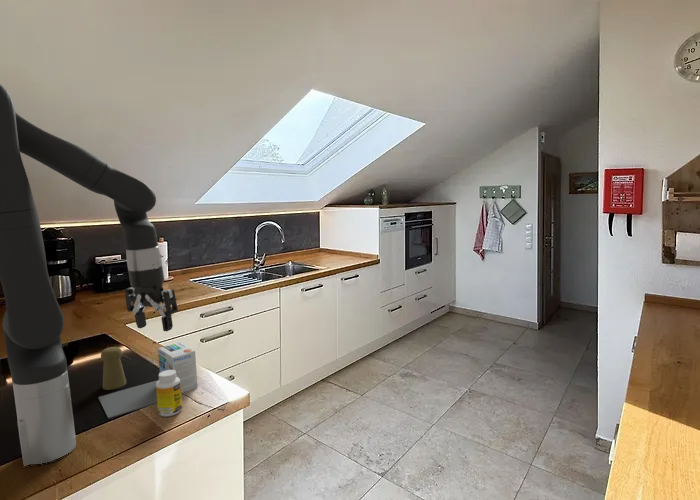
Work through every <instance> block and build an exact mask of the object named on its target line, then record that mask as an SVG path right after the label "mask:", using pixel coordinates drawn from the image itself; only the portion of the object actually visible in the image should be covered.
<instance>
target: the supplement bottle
mask: <svg viewBox="0 0 700 500" xmlns="http://www.w3.org/2000/svg"><path fill="white" fill-rule="evenodd" d="M176 376H177V375H176V371H175V370H166V371H163V372H161V373H160V372H159V373H158V380H156V381H157V383H156V393H157V412H158V414H159V416H161V417H165V418H166V417H172V416H174V415H177V414H179V413H180V412H181V411H182V410H183V409H182V408H183V402H182V393H181V386H180V379H179V378H178V377H176Z"/></svg>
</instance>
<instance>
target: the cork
mask: <svg viewBox="0 0 700 500" xmlns="http://www.w3.org/2000/svg"><path fill="white" fill-rule="evenodd" d="M122 352H123V351H122V349H121V348H120V346H119V347H118V346H110V347H107V348H104V349H103V350H102V351H101V352H100V358H101V360H102V361H103V370H102V373H103V374H102V390H106V391H111V390H112V391H113V390H117V389H120V388H122V387H124V386H125V385H126V384H127V379H126V376H125V371H124V368H123V363H122V360H121V358H122V354H123V353H122Z"/></svg>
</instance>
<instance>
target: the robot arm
mask: <svg viewBox="0 0 700 500" xmlns="http://www.w3.org/2000/svg"><path fill="white" fill-rule="evenodd" d="M21 154H24V155H26V156H28V157H30V158H31V159H33V160H35V161H36V162H39V163H41V164H43V165H44V166H46V167H48V168H49V169H51V170H53V171H54V172H57V173H58V174H60V175H62V176H64V177H65V178H67V179H68V180H71V181H73V182H74V183H76V184H78V185H80V186H81V187H83V188H85V189H87V190H88V191H90V192H93V193H94V194H98V195H101V196H102V195H103V196H105V197H107V198H109V199H111V200H113V204H114V209H115V212H116V216H117V218H118V221H119V224H120V226H121V228H122V231H123V238H124V245H125V252H126V257H125V258H126V264H127V272H128V276H129V283H130V286H131V287H128V288H125V289H124V296H125V304H126V305H125V306H126V311H127V312H132V314H133V315H134V320H135V324H136V326H137V329H143V328H146V326H147V320H146V319H147V318H146V313H145V309H146V307H149V308H153V309H154V311H158V313H159V314H160V316H161V325H162V330H163V332H168V331H171V330H172V329H173V326H174V324H173V319H172V316H173V315H174V314H175V313H178V310H179V309H178V303H177V298H176V294H175V290H174V289H173V288H170V289H164V287H163V284H164V282H165V275H164V274H165V273H164V267H163V261H162V255H161V251H160V249H159V242H158V235H157V229H156V227H155V225H154V224H153V223H151V221H150V220H149V217H148V215H147V212H150V211H152V210H153V209H154V207H155V206H156V203H157V197H156V193H155V192H154V190H153V189H152V187H150V185H148V184H147V183H145V182H144V181H142V180H140V179H137V178H136V177H134V176H132V175H129V173H125V172H123V171H120V170H118V169H117V168H114V167H113V166H111V165H110V164H108V163H107V162H105V161H104V160H102V159H101V158H99V157H98V156H96V155H94V154H93V153H91V152H90V151H88V150H86V149H84V148H82V147H80V146H78V145H77V144H74V143H72V142H69V141H67V140H65V139H64V138H63V139H62V138H61V137H59V136H56V135H54V134H52V133H49V132H48V131H45V130H44V129H42V128H40V127H38V126H36V125H34V124H33V123H31V122H29V121H28V120H27V119H25V118H24V117H22V116H21V115H20V114H18V113H17V112H16V109H15V104H14V101H13V99H12V96H11V94H10V93H9V92H8V90H7V89H6V88H5V87H4V86H3V85H1V84H0V283H1V286H2V290H3V294H4V295H3V296H4V301H5V307H6V309H5V312H4V314H3V317H2V330H3V337H4V344H5V351H6V355H7V357H6V358H7V363H8V368H9V370H10V375H11V376H10V377H11V381H12V388H13V396H14V402H15V403H14V404H15V411H16V417H17V428H18V436H19V444H20V449H21V450H20V451H21V455H22V464H23V465H24V466H25V465H28V464H41V465H43V464H42V463H46V464H48V463H47V462H50V463H52V462H54V461H53V460H55V459H58V458H60V457H62V456H64V455H66V454H67V455H69V454H70V453H71V452H73V450H75V448H76V446H77V441H76V440H77V439H76V431H75V421H74V414H73V405H72V398H71V388H70V381H69V373H68V372H69V371H68V364H67V357H66V355H65V351H64V349H63V344H62V340H61V334H62V333H63V330H64V327H65V317H64V314H63V311H62V309H61V307H60V304H59V302H58V300H57V297H56V293H55V291H54V288H53V285H52V283H51V280H50V276H49V271H48V264H47V258H46V250H45V244H44V238H43V232H42V227H41V221H40V218H39V213H38V210H37V205H36V202H35V199H34V196H33V192H32V188H31V185H30V181H29V178H28V175H27V172H26V169H25V166H24V163H23V159H22V155H21ZM68 453H69V454H68ZM67 455H66V456H67ZM64 457H65V456H64ZM62 458H63V457H62ZM60 459H61V458H60ZM58 460H59V459H58ZM51 461H52V462H51ZM55 461H56V460H55ZM24 466H23V467H24Z"/></svg>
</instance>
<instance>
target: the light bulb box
mask: <svg viewBox="0 0 700 500" xmlns="http://www.w3.org/2000/svg"><path fill="white" fill-rule="evenodd" d="M157 351H158V364H159V373H161V372H163V371H166V370H175V371H176V375H177V376H176V377H178V378H179V379H180V386H181V394H182V393H185V392H188V391H190V390H194V389H197V388H198V374H197V373H198V372H197V361H196V350H194V349H192V348H190V347H189V346H187V345H185V344H184V343H182V342H176V343H173V344H169V345H166V346H162V347H158V348H157Z"/></svg>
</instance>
